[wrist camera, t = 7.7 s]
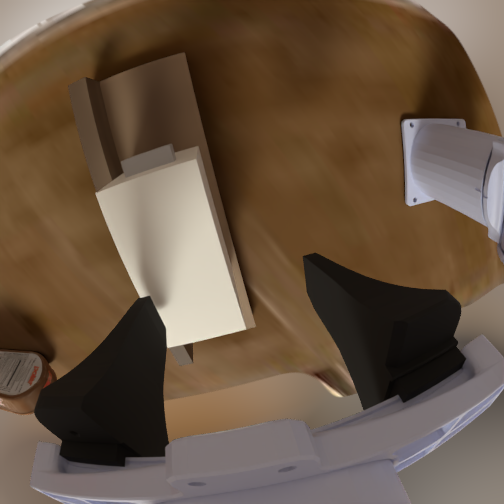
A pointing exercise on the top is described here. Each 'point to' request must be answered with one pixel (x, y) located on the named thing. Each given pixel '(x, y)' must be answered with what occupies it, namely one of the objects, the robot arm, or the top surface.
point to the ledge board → (147, 136)
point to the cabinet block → (174, 243)
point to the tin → (22, 380)
